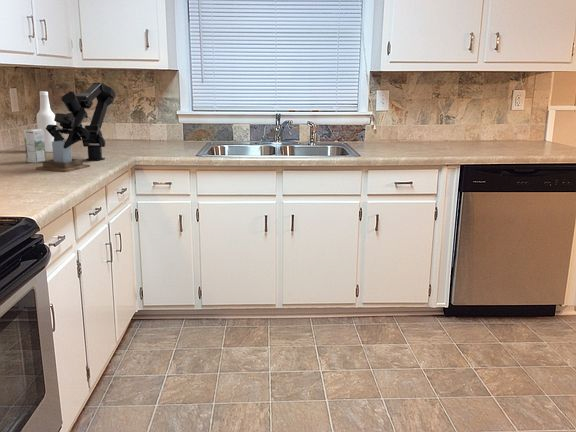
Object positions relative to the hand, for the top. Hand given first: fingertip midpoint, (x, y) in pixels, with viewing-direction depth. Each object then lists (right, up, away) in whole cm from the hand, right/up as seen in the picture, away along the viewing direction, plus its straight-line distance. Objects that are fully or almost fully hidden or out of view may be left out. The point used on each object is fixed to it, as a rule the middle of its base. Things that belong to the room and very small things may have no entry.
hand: (59, 147), depth 213 cm
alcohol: (-28, +5, +50) cm, 58 cm away
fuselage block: (0, -6, +3) cm, 7 cm away
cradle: (0, -8, +3) cm, 9 cm away
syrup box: (-18, -4, +17) cm, 25 cm away
